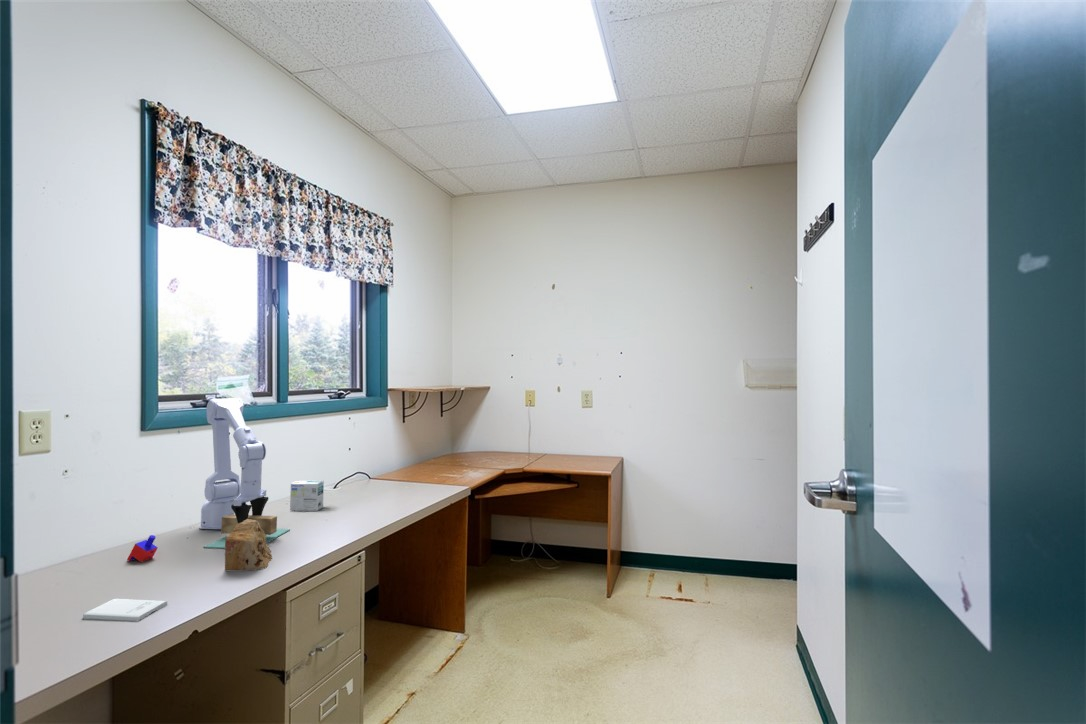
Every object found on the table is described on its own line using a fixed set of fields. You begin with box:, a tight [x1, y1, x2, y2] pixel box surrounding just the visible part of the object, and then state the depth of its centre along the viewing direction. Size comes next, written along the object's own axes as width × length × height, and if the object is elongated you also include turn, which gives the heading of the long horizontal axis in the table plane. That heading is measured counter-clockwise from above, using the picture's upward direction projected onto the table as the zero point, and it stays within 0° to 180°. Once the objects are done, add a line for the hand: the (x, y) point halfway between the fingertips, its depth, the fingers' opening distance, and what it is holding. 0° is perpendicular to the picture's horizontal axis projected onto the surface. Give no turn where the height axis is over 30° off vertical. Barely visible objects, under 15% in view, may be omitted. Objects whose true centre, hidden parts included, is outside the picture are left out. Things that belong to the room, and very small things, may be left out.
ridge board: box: [203, 528, 291, 549], centre depth 169 cm, size 16×20×2 cm
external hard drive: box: [82, 598, 168, 622], centre depth 117 cm, size 2×8×12 cm
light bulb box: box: [289, 480, 325, 512], centre depth 207 cm, size 11×7×11 cm, turn 94°
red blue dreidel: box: [126, 534, 158, 563], centre depth 148 cm, size 4×4×8 cm
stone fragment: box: [224, 519, 273, 571], centre depth 148 cm, size 14×10×15 cm
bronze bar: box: [220, 514, 278, 535], centre depth 169 cm, size 16×4×5 cm, turn 88°
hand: (249, 523), depth 169 cm, fingers open, 7 cm apart
